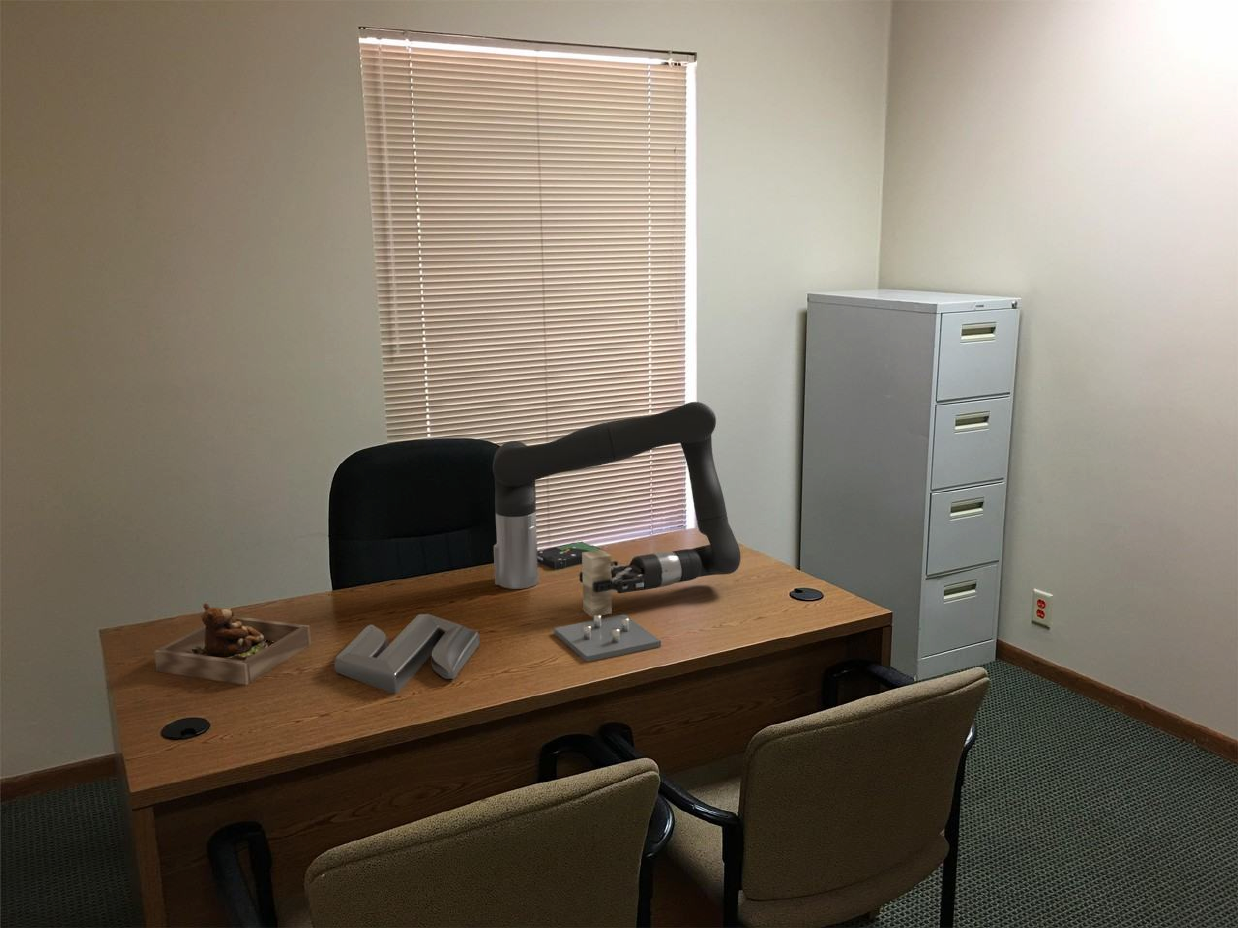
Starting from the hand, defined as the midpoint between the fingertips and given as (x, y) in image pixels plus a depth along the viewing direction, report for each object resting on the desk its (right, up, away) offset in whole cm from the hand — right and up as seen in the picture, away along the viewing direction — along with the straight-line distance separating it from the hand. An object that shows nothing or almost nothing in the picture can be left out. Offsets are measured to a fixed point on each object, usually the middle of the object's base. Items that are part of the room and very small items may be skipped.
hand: (587, 582), depth 212 cm
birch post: (+2, -7, +3) cm, 7 cm away
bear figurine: (-69, -13, -18) cm, 72 cm away
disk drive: (-6, +1, +38) cm, 39 cm away
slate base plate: (+4, -10, -13) cm, 17 cm away
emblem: (-33, -13, -20) cm, 41 cm away
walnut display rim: (-68, -12, -19) cm, 71 cm away
